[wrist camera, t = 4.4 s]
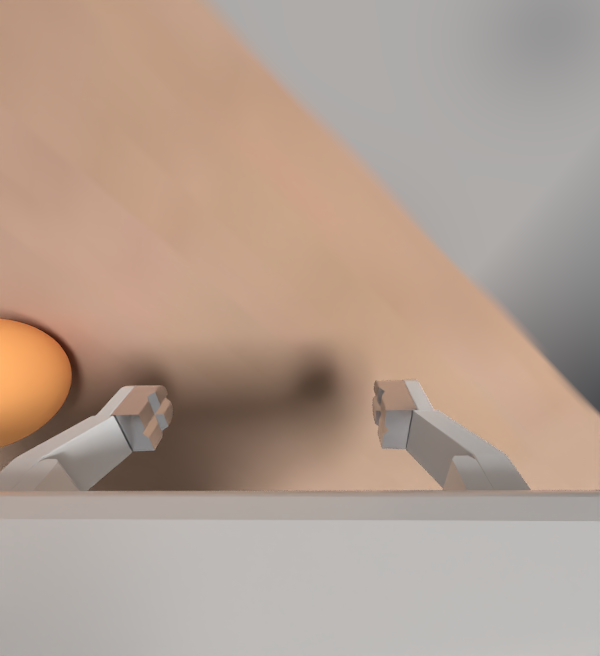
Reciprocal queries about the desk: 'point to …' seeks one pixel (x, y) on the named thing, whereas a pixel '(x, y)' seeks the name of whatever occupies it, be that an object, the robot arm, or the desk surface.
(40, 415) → the ball
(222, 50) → the desk surface
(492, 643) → the robot arm
